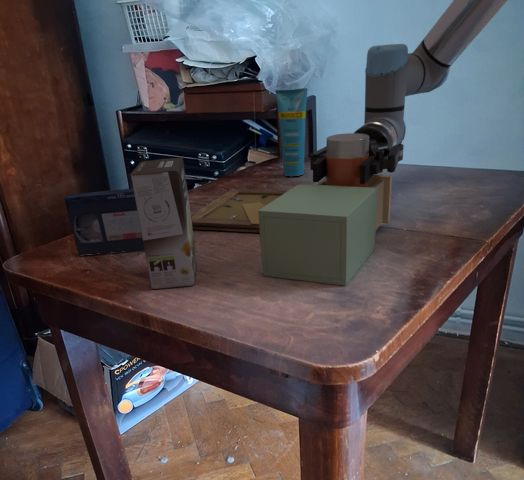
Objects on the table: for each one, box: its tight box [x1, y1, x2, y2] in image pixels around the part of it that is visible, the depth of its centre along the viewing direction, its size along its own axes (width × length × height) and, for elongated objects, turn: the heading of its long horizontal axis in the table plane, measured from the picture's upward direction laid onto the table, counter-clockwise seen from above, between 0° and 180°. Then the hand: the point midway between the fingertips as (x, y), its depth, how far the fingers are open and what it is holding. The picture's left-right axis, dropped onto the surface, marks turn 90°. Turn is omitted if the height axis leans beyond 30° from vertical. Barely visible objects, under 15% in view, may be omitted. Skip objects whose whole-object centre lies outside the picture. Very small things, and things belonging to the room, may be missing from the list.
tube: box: [274, 87, 308, 177], centre depth 126 cm, size 7×5×19 cm, turn 81°
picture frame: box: [191, 188, 290, 234], centre depth 105 cm, size 19×2×24 cm
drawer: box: [316, 174, 393, 231], centre depth 89 cm, size 18×11×8 cm, turn 155°
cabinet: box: [258, 183, 377, 287], centre depth 78 cm, size 15×13×10 cm
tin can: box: [326, 132, 369, 187], centre depth 85 cm, size 7×7×10 cm
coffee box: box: [130, 157, 198, 290], centre depth 76 cm, size 9×6×16 cm
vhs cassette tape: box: [63, 187, 145, 256], centre depth 89 cm, size 18×3×10 cm, turn 95°
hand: (338, 173), depth 81 cm, fingers closed on tin can, 7 cm apart
